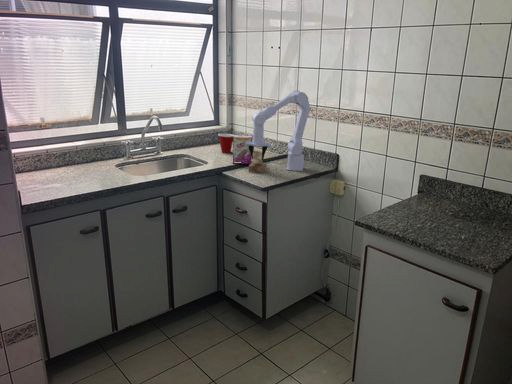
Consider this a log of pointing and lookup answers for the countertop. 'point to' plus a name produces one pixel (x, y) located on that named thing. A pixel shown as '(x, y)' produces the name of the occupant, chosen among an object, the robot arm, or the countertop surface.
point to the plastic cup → (226, 142)
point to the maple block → (257, 157)
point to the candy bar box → (241, 149)
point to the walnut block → (257, 167)
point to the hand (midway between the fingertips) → (257, 159)
